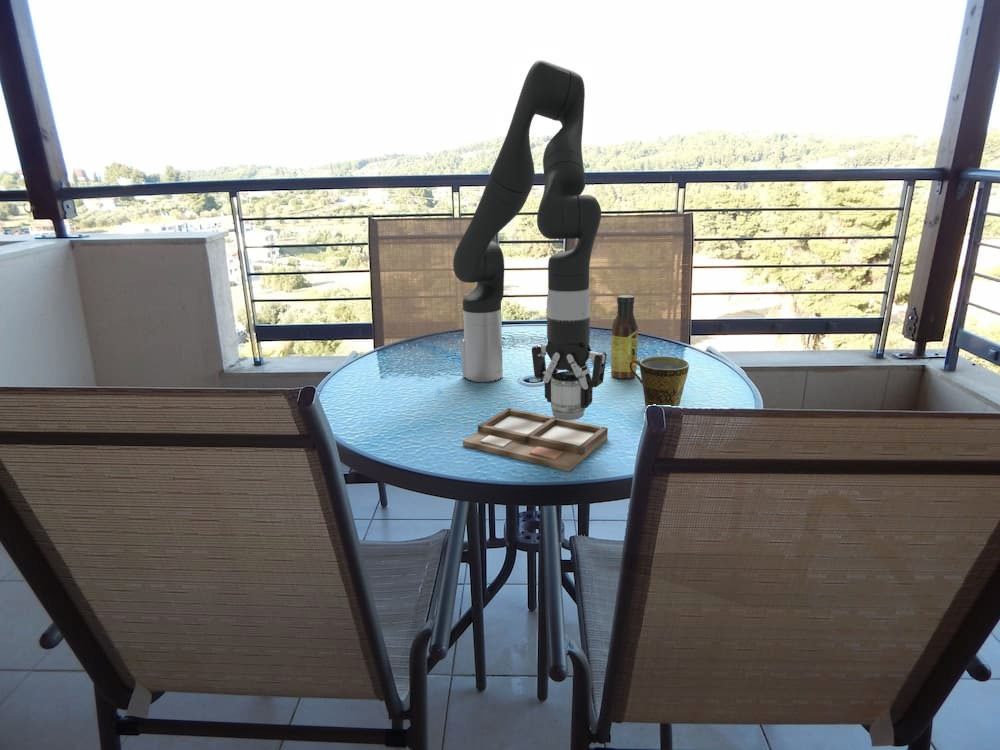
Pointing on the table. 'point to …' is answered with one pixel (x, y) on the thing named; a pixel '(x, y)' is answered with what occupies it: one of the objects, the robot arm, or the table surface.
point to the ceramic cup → (662, 379)
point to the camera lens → (566, 396)
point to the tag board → (537, 438)
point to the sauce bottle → (624, 339)
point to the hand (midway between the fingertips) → (567, 403)
